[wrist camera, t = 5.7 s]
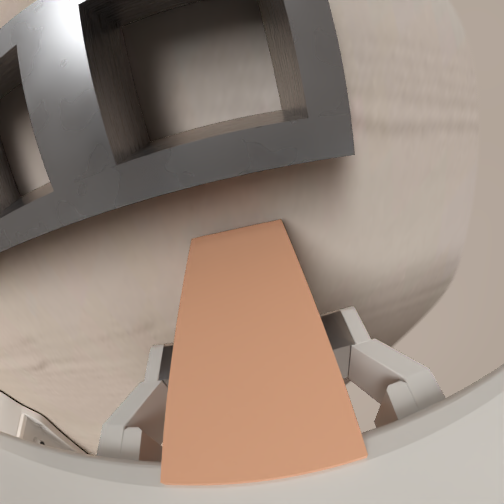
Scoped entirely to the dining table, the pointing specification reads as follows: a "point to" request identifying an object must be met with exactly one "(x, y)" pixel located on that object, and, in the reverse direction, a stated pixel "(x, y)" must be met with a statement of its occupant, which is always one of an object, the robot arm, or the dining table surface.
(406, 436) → the robot arm
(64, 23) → the rail
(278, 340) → the peg
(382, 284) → the dining table surface
